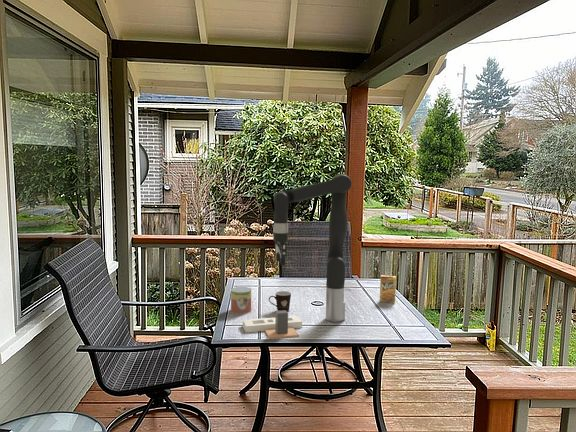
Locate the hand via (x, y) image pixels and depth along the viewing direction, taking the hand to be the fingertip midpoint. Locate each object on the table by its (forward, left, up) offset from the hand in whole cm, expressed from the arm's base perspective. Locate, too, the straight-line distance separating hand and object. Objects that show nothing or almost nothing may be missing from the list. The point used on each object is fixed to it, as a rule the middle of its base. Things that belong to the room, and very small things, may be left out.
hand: (280, 263), depth 228 cm
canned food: (+17, -20, -30) cm, 40 cm away
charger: (+4, +18, -29) cm, 35 cm away
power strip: (+6, +8, -30) cm, 32 cm away
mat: (+4, +18, -30) cm, 36 cm away
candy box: (-70, -17, -30) cm, 78 cm away
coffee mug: (-4, -15, -30) cm, 34 cm away
